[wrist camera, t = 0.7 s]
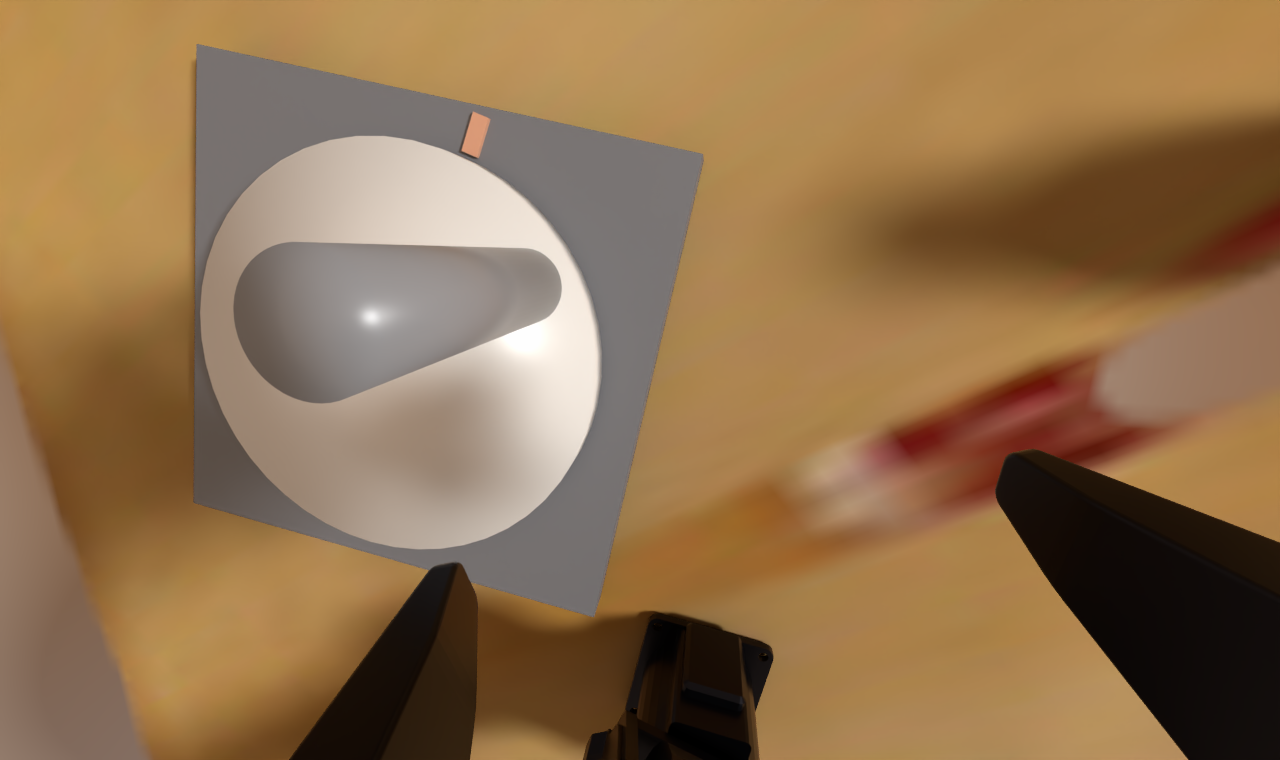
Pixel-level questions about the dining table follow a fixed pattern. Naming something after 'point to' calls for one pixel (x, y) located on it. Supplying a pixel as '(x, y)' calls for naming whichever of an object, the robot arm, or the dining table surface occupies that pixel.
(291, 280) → the dial
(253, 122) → the dial board
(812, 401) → the dining table surface
